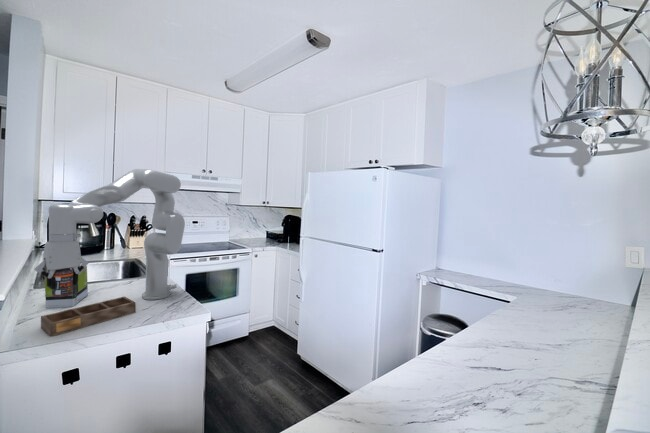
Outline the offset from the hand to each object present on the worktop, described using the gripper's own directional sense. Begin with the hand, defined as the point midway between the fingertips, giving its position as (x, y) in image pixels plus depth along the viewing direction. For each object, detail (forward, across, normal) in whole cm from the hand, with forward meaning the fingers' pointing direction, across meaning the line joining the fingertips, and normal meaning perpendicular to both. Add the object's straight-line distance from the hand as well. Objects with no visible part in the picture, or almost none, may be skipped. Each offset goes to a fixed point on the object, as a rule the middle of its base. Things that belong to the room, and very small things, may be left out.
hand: (62, 285), depth 111 cm
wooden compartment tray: (+16, -9, 0) cm, 19 cm away
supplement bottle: (+4, 0, 0) cm, 4 cm away
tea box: (+16, -10, -28) cm, 34 cm away
